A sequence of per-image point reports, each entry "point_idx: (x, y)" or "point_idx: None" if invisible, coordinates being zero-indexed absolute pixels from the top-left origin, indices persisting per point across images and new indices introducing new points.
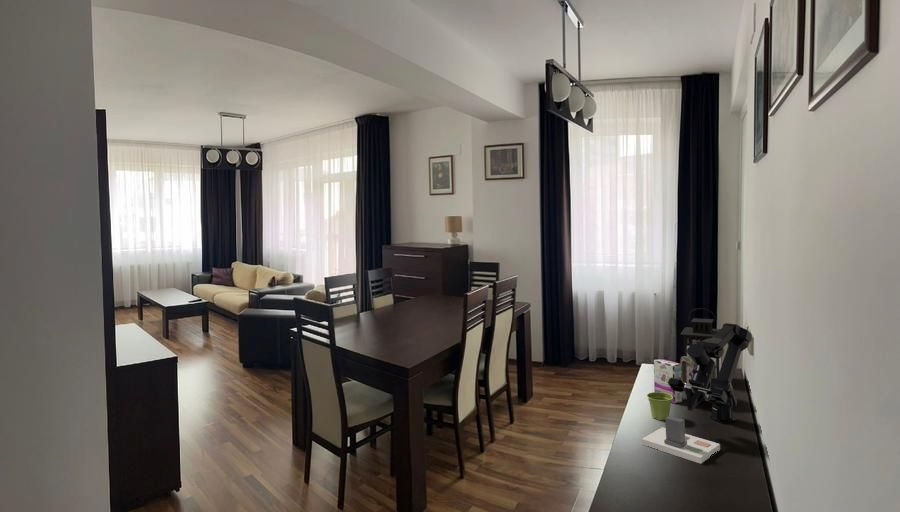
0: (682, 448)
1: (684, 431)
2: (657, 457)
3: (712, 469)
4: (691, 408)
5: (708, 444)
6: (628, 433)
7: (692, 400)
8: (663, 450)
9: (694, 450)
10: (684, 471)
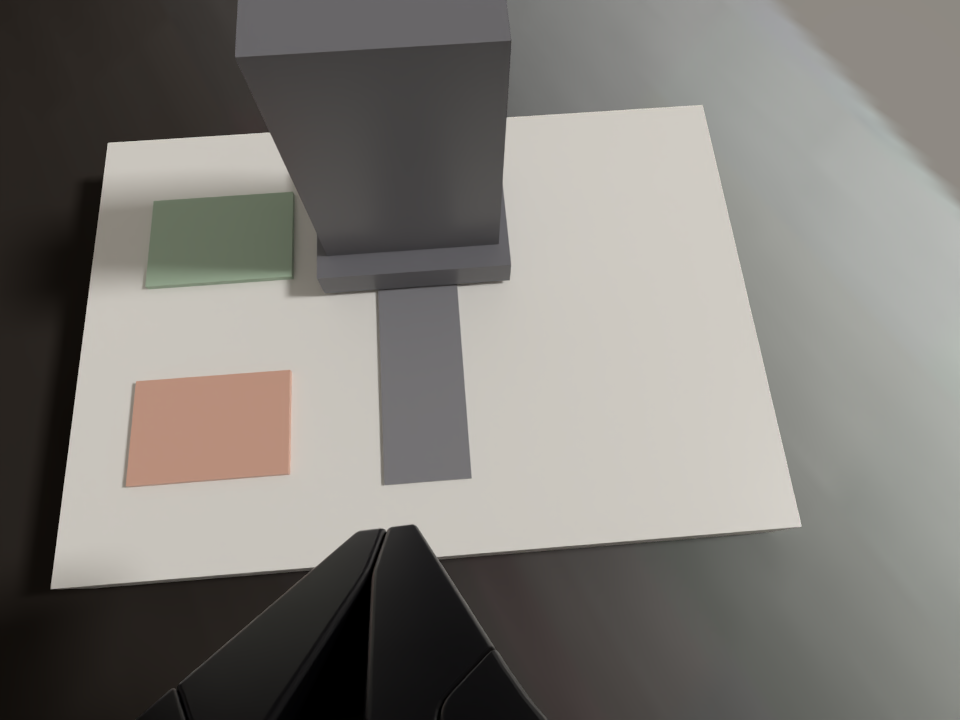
0: None
1: (295, 177)
2: None
3: (30, 162)
4: (329, 564)
5: (144, 452)
6: (943, 248)
7: (265, 682)
8: None
9: (201, 214)
10: (188, 5)
